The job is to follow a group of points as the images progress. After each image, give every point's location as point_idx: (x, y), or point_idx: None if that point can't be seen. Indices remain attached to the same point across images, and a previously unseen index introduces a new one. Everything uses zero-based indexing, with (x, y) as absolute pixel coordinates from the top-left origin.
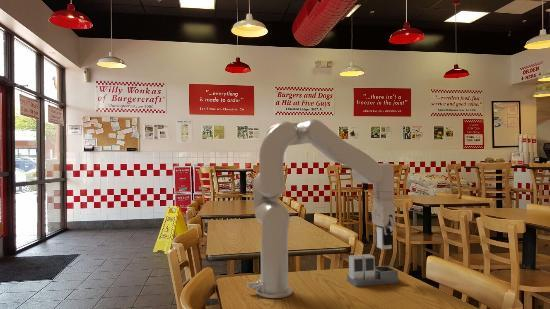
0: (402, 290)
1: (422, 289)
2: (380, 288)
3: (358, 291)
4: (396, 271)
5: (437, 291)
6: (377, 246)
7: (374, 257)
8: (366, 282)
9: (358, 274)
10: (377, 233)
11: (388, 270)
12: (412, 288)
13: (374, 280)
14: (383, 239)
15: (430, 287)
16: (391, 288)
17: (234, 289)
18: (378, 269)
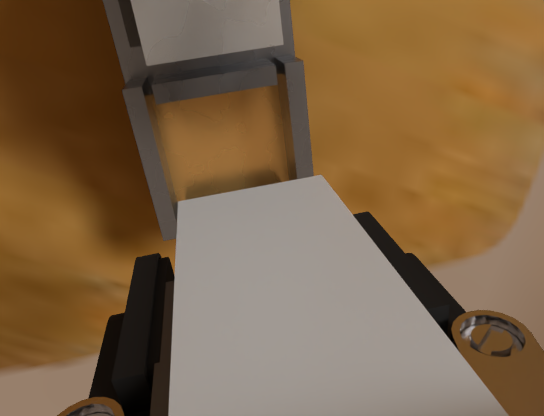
0: (17, 182)
1: (50, 297)
2: (51, 43)
3: None
4: (160, 228)
5: (19, 354)
6: (309, 182)
7: (147, 64)
8: None
9: None
10: (376, 293)
11: None
12: (66, 252)
13: (108, 20)
14: (150, 302)
15: (91, 343)
16: (57, 125)
17: None
18: (286, 123)
